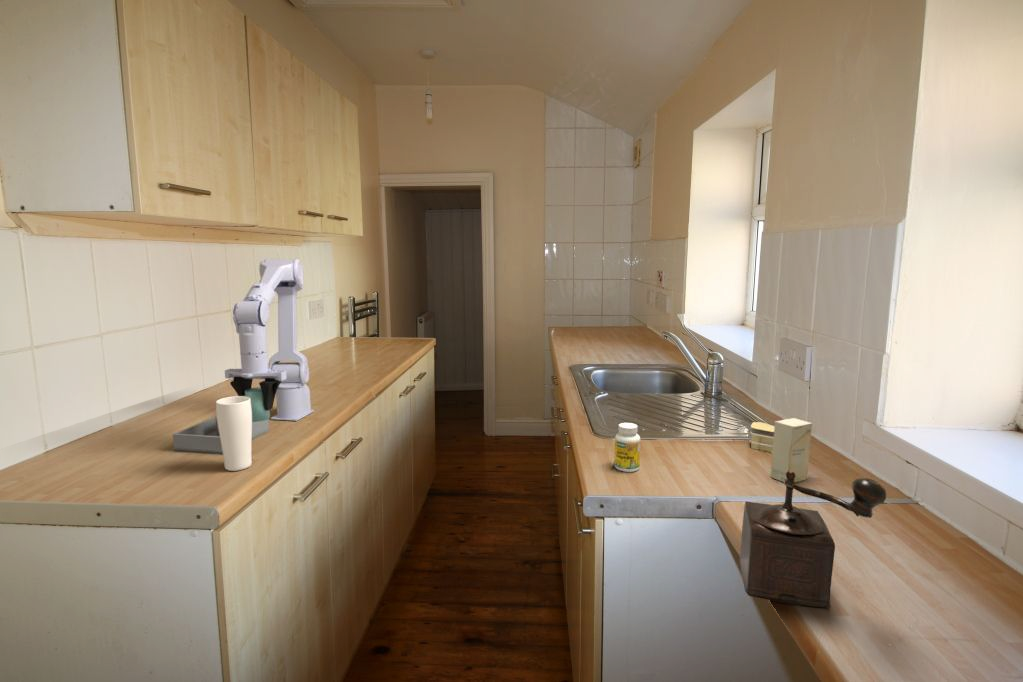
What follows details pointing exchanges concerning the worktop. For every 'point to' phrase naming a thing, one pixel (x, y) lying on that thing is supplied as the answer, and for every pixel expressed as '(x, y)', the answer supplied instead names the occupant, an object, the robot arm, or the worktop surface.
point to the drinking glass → (235, 431)
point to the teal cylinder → (257, 404)
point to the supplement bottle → (627, 448)
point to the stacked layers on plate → (762, 436)
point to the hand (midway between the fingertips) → (258, 408)
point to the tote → (209, 437)
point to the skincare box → (791, 449)
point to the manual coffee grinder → (796, 545)
